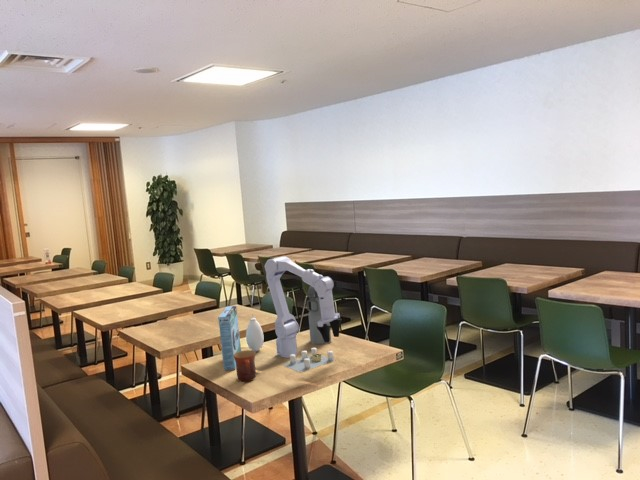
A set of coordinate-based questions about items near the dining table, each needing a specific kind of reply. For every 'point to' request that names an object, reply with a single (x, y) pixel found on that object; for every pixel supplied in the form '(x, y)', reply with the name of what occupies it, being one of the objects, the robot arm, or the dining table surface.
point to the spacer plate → (312, 364)
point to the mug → (245, 365)
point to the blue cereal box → (229, 336)
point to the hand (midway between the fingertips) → (331, 339)
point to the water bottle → (315, 317)
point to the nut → (316, 357)
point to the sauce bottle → (254, 335)
